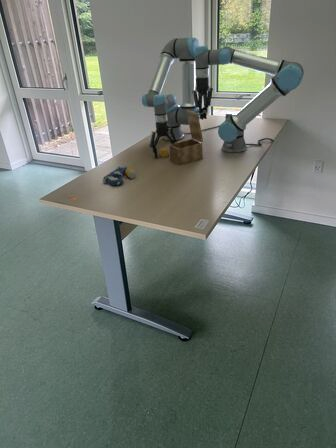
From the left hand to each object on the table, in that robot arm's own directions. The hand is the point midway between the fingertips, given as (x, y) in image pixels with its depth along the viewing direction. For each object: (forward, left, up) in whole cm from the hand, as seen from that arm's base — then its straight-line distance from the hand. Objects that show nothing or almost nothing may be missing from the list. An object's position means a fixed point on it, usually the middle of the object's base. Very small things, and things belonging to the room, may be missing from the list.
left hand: (164, 155), depth 217 cm
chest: (-8, +15, 0) cm, 17 cm away
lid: (-14, +15, +19) cm, 28 cm away
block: (0, 0, 0) cm, 0 cm away
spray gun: (+37, +17, 0) cm, 41 cm away
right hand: (-21, +15, +22) cm, 34 cm away
